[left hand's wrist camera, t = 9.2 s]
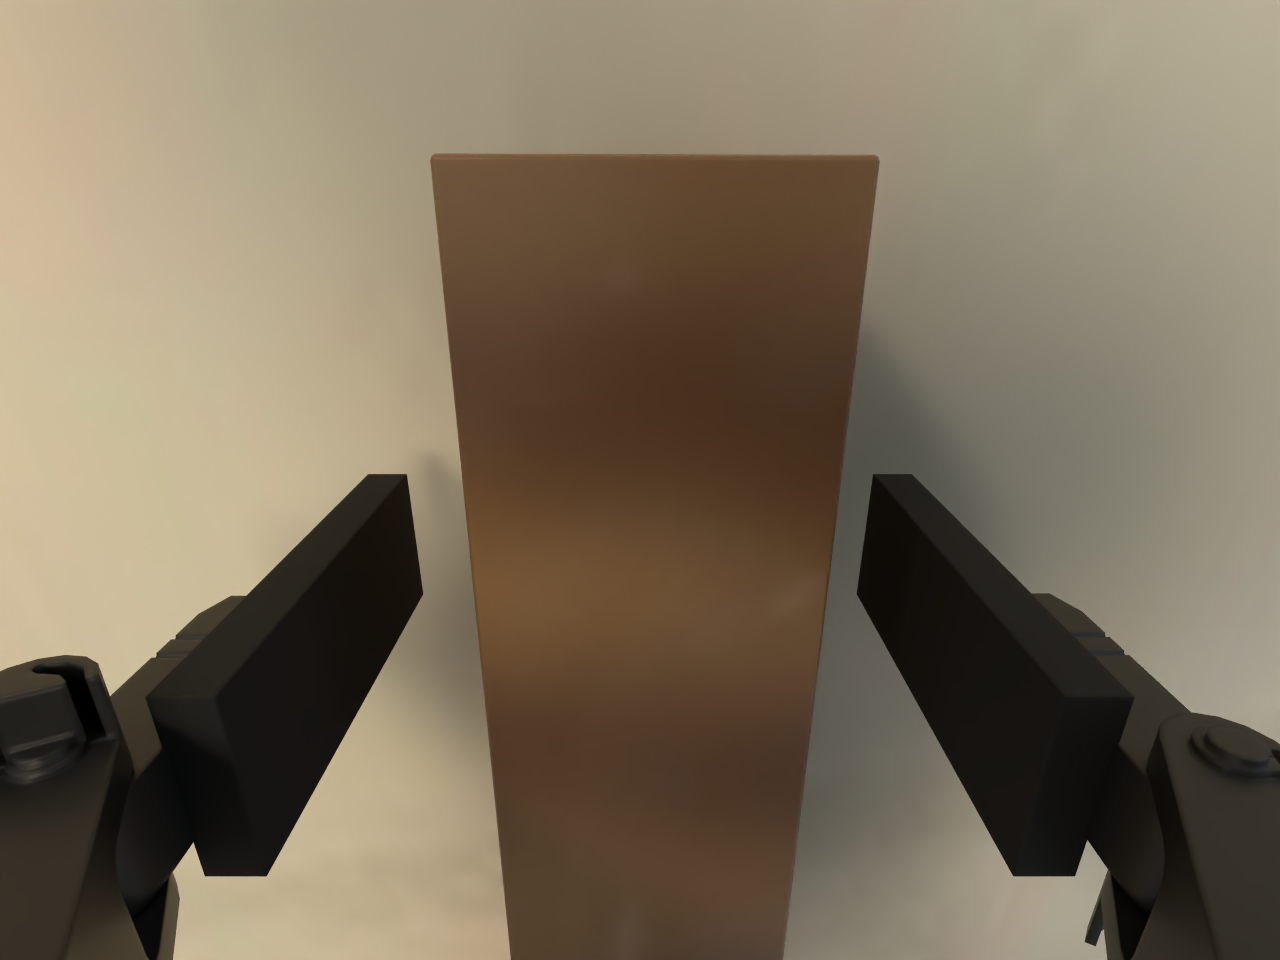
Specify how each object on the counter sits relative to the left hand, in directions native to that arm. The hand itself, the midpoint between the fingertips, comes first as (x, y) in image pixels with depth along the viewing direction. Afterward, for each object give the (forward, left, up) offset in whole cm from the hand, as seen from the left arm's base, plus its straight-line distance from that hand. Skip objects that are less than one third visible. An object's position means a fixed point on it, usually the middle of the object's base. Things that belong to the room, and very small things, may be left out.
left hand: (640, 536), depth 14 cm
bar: (+16, -11, -3) cm, 19 cm away
